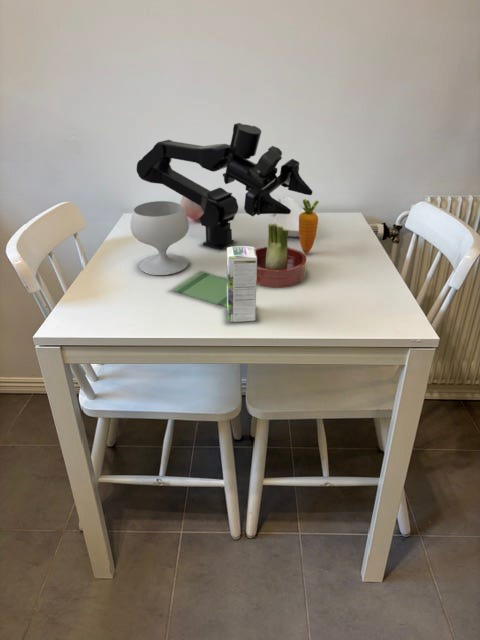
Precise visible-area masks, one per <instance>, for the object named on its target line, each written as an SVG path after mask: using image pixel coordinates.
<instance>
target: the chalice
mask: <svg viewBox="0 0 480 640" xmlns="http://www.w3.org/2000/svg"><path fill="white" fill-rule="evenodd" d="M131 213H132V214H131V218H130V231H131V234H132V236H133V237H134V238H135V240H137V241H139V242H140V243H142V244H144V245H147V246H151V247H152V248H155V249H156V250H157V251H158V254H156V255H152V256H149V257H147V258H145V259H144V260H142V261H141V262H140V264H139V269H140V270H141V271H142V272H143V273H146V274H149V275H154V276H166V275H171V274H172V275H173V274H176V273H180V272H181V271H183V270H185V269H186V268H187V267H188V264H189V262H188V260H187V259H186V258H185V257H183V256H181V255H177V254H172V253H171V254H170V253H167V252H168V249H169V247H170V246H172V245H173V244H176V243H178V242H179V241H181V240H183V238H185V236H186V235H187V234H188V232H189V229H190V223H189V217H187V215H186V212H185V210H184V209H183V207H182V206H181V205H180V204H179V203H178V202H175V201H168V200H156V201H150V202H149V201H148V202H145V203H141V204H138V205H137V206H135V207H134V209H133V211H132V212H131Z"/></svg>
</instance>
